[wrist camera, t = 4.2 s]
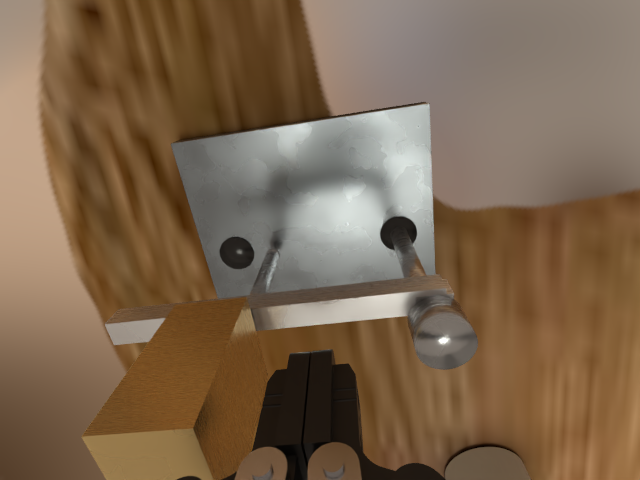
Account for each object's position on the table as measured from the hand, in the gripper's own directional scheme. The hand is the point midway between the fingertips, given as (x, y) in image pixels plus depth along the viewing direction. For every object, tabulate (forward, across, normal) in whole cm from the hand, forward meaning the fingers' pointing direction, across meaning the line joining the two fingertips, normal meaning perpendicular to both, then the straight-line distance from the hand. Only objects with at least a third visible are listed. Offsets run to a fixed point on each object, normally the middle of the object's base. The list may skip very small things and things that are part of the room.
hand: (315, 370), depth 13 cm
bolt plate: (+16, +1, 0) cm, 16 cm away
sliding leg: (+14, +4, 0) cm, 15 cm away
